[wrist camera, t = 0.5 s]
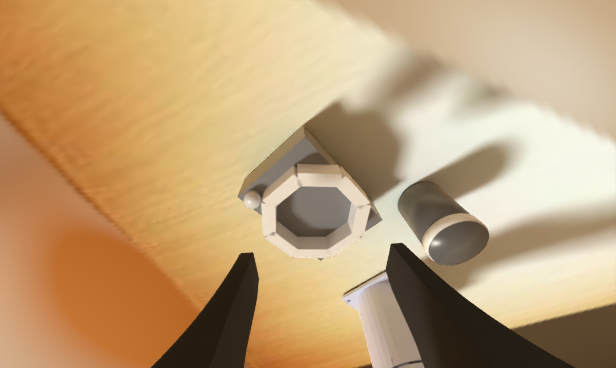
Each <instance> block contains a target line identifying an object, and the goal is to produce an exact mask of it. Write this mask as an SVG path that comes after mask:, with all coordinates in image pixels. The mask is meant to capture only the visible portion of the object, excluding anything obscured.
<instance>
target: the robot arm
mask: <svg viewBox="0 0 616 368" xmlns="http://www.w3.org/2000/svg"><path fill="white" fill-rule="evenodd" d="M258 283H259V277H258V272H257V268H256V263H255V258H254V254H253V253H241V254H240V255H239V257H238V258H237V260H236V262H235V263H234V265H233V267H232V268H231V270H230V272H229V273H228V275H227V276H226V278H225V279H224V281H223V282H222V284H221V285H220V287H219V288H218V290H217V291H216V292H215V294H214V295H213V297H212V298H211V299H210V301H209V302H208V303H207V305H206V306H205V307H204V309H203V310H202V311H201V313H200V314H199V315H198V316H197V318H196V319H195V320H194V321H193V322H192V324H191V325H190V326H189V327H188V328H187V329H186V331H185V332H184V333H183V334H182V335H181V336H180V337H179V339H178V340H177V341H176V342H175V343H174V344H173V345H172V346H171V347H170V348H169V349H168V351H167V352H166V353H165V354H164V355H163V356H162V357H161V358H160V359H159V360H158V361H157V362H156V363H155V364H154V365H153V366H152V367H151V368H244V362H245V355H246V349H247V344H248V340H249V335H250V330H251V325H252V321H253V316H254V311H255V306H256V301H257V293H258ZM342 299H343V301H344V302H346V303H347V304H349V305H350V306H352V307H353V308H354V309H356V310H357V311H358V312H359V316H360V320H361V323H362V327H363V331H364V335H365V339H366V343H367V347H368V351H369V355H370V358H371V362H372V366H373V368H575V367H573V366H571V365H569V364H568V363H566V362H564V361H562V360H560V359H558V358H556V357H555V356H553V355H551V354H550V353H548V352H546V351H544V350H543V349H541V348H540V347H538V346H536V345H534V344H533V343H531V342H529V341H528V340H526V339H524V338H523V337H521V336H520V335H518V334H516V333H515V332H513V331H512V330H510V329H509V328H507V327H506V326H504V325H503V324H501V323H500V322H498V321H497V320H495V319H494V318H492V317H491V316H489V315H488V314H486V313H485V312H484V311H482V310H481V309H479V308H478V307H477V306H475V305H474V304H473V303H471V302H470V301H468V300H467V299H466V298H465V297H463V296H462V295H461V294H459V293H458V292H457V291H456V290H455V289H453V288H452V287H451V286H450V285H448V284H447V283H446V282H445V281H444V280H442V279H441V278H440V277H439V276H438V275H437V274H436V273H434V272H433V271H432V270H431V269H430V268H429V267H428V266H427V265H426V264H424V263H423V262H422V261H421V260H420V259H419V258H418V257H417V256H416V255H415V254H414V253H413V252H412V251H411V250H410V249H408V248H407V247H406V246H405V245H404V244H403V243H394V244H391V246H390V251H389V256H388V261H387V266H386V271H385V272H384V273H382V274H380V275H378V276H377V277H375V278H373V279H371V280H370V281H368V282H366V283H364V284H363V285H361V286H359V287H357V288H356V289H354V290H352V291H350V292H348V293H347V294H345V295H343V297H342Z"/></svg>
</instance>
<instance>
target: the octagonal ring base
mask: <svg viewBox="0 0 616 368" xmlns="http://www.w3.org/2000/svg"><path fill="white" fill-rule="evenodd" d="M238 198H240V199H241V200H242V201H243V203H244V205H245V206H246V207H247V208H250V209H254V210H255V211H257V212H258V213H259V214H261V215H262V228H263V236H265V239H266V240H268V241H269V242H271V243H272V244H273V245H275V246H276V247H278V248H279V249H280V250H282V251H283V252H285V253H286V254H287V255H289V256H290V257H292V256H293V255H294V258H318V259H319V260H322V259H324V258H330V255H331V256H332V257H334V256H335V255H337V254H338V253H340V252H341V251H343V250H344V249H346V248H348V247H349V246H351V245H352V244H354V243H355V242H357V241H358V240H360V239H362V238H361V236H364V232H365V231H366V230H368V229H370V228H371V227H373V226H374V225H376V224H377V223H379V222H380V221H382V218H381V217H380V215H379V213H378V211H377V209H376V208H375V206H374V204H373V202H372V200H371V199H370V198H369V197H368V196H367V195H366V194H365V192H364V191H363V190H362V188H361V187H360V186H359V185H358V184H357V183H356V182H355V181H354V180H353V178H352V177H351V176H350V175H349V174H348V173H347V172H346V171H345V170H344V169H343V167H341V166H340V165H339V164H338V163H337V162H336V161H335V160H334V159H333V158H332V157H331V155H330V154H329V153H328V152H327V151H326V150H325V149H324V148H323V147H322V146H321V144H320V143H319V142H318V141H317V140H316V139H315V138H314V137H313V136H312V135H311V133H310V132H309V131H308V130H307V129H306V128H305V127H304V126H302V127H301V128H300V129H299V130H298V131H296V132H295V133H294V134H293V135H292V136H291V137H290V138H289V139H288V140H287V141H285V142H284V143H283V144H282V145H281V146H280V147H279V148H278V149H277V150H276V151H275V152H273V153H272V154H271V155H270V156H269V157H268V158H267V159H266V160H265V161H264V162H263V163H261V164H260V165H259V166H258V167H257V168H256V169H255V170H254V171H253V172H252V173H250V174H249V175H248V176H247V177H246V178H245V180H244V182H243V185H242V187H241V190H240V192H239V194H238Z"/></svg>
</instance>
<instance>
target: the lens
mask: <svg viewBox="0 0 616 368" xmlns="http://www.w3.org/2000/svg"><path fill="white" fill-rule="evenodd" d="M398 210H399V212H400V213H401V215H402V216H403V218H404V219H405V221H406V222H407V224H408V225H409V226H410V228H411V229H412V231H413V232H414V234H415V235H416V237H417V238H418V239H419V241H420V242H421V244H422V246H423V249H424V250H425V252H426V253H427V255H428V256H429V258H430V259H431V260H433V261H434V262H436V263H438V264H441V265H456V264H460V263H463V262H466V261H468V260H470V259H472V258H473V257H475V256H476V255H478V254H479V253H480V252H481V251H482V250H483V249H484V247H485V246H486V244H487V242H488V239H489V233H488V229H487V227H486V226H485V225H484V224H483V223H482V222H481V221H479V220H478V219H477V218H476V217H475V216H473V215H470V214H469V213H468V212H467V211H466V210H465V209H464V208H462V207H461V206H460V205H459V204H458V203H457V202H456V201H455V200H453V199H452V198H451V197H450V196H449V195H448V194H447V193H445V192H444V191H443V190H442V189H441V188H440V187H439V186H437V185H436V184H434V183H431V182H422V183H418V184H415V185H413V186H411V187H409V188H408V189H407V190H406V191H404V193H403V194H402V195H401V197H400V198H399V201H398Z"/></svg>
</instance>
